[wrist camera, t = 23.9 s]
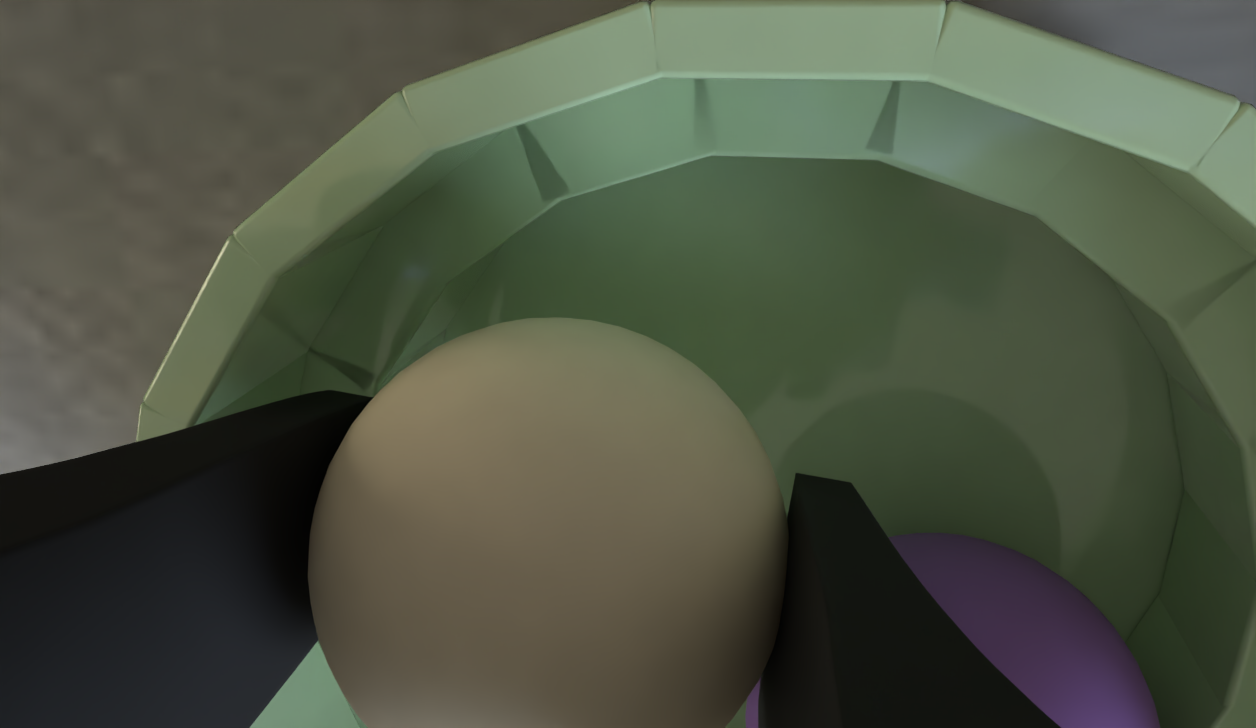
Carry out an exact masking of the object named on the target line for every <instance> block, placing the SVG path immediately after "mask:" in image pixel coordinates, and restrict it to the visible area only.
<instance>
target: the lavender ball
mask: <svg viewBox="0 0 1256 728" xmlns="http://www.w3.org/2000/svg"><path fill="white" fill-rule="evenodd" d="M888 538H889V539H890V541H891V542H892V544H893V545H894V547H895V548H896V549H897V551H898V552H899V554H900V555H901V557H902V558H903V559H904V561H905V562H906V563H907V565H908V566H909V567H910V569H911V570H912V571H913V573H914V574H915V575H916V577H917V578H918V579H919V581H920V582H921V583H922V585H923V586H924V587H925V588H926V590H927V591H928V592H929V593H930V594H931V596H932V597H933V598H934V599H935V601H936V602H937V603H938V604H939V605H940V607H941V608H942V609H943V610H944V611H945V612H946V613H947V615H948V616H949V617H950V618H951V619H952V620H953V621H954V623H955V624H956V625H957V626H958V627H959V628H960V629H961V631H962V632H963V633H964V634H965V635H966V636H967V637H968V639H969V640H970V641H971V642H972V643H973V644H974V645H975V646H976V647H977V648H978V649H979V650H980V651H981V652H982V653H983V654H984V656H985V657H986V658H987V659H988V660H989V661H990V662H991V663H992V664H993V665H994V666H995V667H996V668H997V669H998V670H999V671H1000V672H1002V673H1003V674H1004V675H1005V676H1006V677H1007V678H1008V679H1009V680H1010V681H1011V682H1012V683H1013V684H1014V685H1015V686H1016V687H1017V688H1018V689H1019V690H1020V691H1021V692H1023V693H1024V694H1025V695H1026V696H1027V697H1028V698H1029V699H1030V700H1031V701H1032V702H1033V703H1034V704H1035V705H1036V706H1037V707H1038V708H1039V709H1040V710H1042V711H1043V712H1044V713H1045V714H1046V715H1047V716H1048V717H1050V718H1051V719H1052V720H1053V721H1054V722H1055V723H1056V724H1058V725H1059V726H1060V727H1061V728H1160V724H1159V719H1158V715H1157V711H1156V707H1155V703H1154V700H1153V698H1152V695H1151V693H1150V690H1149V688H1148V686H1147V683H1146V681H1145V678H1144V676H1143V674H1142V672H1141V670H1140V667H1139V665H1138V663H1137V661H1136V659H1135V658H1134V656H1133V655H1132V653H1131V651H1130V650H1129V648H1128V647H1127V645H1126V644H1125V642H1124V641H1123V639H1122V638H1121V636H1120V635H1119V633H1118V632H1117V630H1116V629H1115V627H1114V626H1113V625H1112V624H1111V623H1110V621H1109V620H1108V619H1107V618H1106V617H1105V616H1104V615H1103V613H1102V612H1101V611H1100V610H1099V609H1098V608H1097V607H1096V606H1095V605H1094V604H1093V603H1092V602H1091V601H1090V600H1089V599H1088V598H1087V597H1086V596H1085V595H1084V594H1083V593H1082V592H1080V591H1079V590H1078V589H1077V588H1076V587H1075V586H1073V585H1072V584H1071V583H1070V582H1069V581H1067V580H1066V579H1064V578H1063V577H1061V576H1060V575H1058V574H1057V573H1055V572H1054V571H1052V570H1051V569H1049V568H1047V567H1046V566H1044V565H1043V564H1041V563H1040V562H1038V561H1037V560H1035V559H1033V558H1030V557H1028V556H1026V555H1024V554H1022V553H1020V552H1018V551H1016V550H1013V549H1010V548H1007V547H1005V546H1002V545H999V544H996V543H993V542H990V541H987V540H984V539H979V538H975V537H970V536H965V535H959V534H949V533H912V534H904V535H896V536H892V537H888ZM760 680H761V677H760V679H759V681H758V683H757V684H756V686H755V687H754V689H753V690H752V691H751V693H750V694H749V696H748V697H747V705H746V714H745V720H746V728H758V698H759V689H760Z"/></svg>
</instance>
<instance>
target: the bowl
mask: <svg viewBox="0 0 1256 728" xmlns="http://www.w3.org/2000/svg"><path fill="white" fill-rule="evenodd" d="M550 317H561V318H573V319H584V320H593V321H597V322H602V323H606V324H611V325H615V326H620V327H622V328H625V329H628V330H631V331H634V332H636V333H639V334H642V335H645V336H647V337H649V338H651V339H653V340H655V341H657V342H659V343H661V344H663V345H665V346H667V347H669V348H671V349H672V350H674V351H675V352H677V353H678V354H680V355H681V356H683V357H684V358H686V359H687V360H689V361H690V362H692V363H693V364H695V365H696V366H697V367H698V368H700V369H701V370H702V371H703V372H704V373H705V374H706V375H708V376H709V377H710V378H711V379H712V380H713V381H715V382H716V383H717V384H718V386H719V387H720V388H721V389H722V390H723V391H724V392H725V393H726V394H727V396H728V397H729V398H730V399H731V400H732V401H733V402H734V403H735V404H736V406H737V407H738V408H739V409H740V410H741V412H742V413H743V415H744V416H745V417H746V419H747V420H748V422H749V423H750V425H751V426H752V428H753V429H754V430H755V432H756V434H757V436H758V438H759V439H760V441H761V443H762V445H763V447H764V449H765V451H766V453H767V455H768V457H769V460H770V462H771V465H772V468H773V471H774V473H775V476H776V479H777V482H778V485H779V488H780V491H781V494H782V497H783V501H784V507H785V512H786V517H787V516H788V511H789V505H790V500H791V495H792V490H793V485H794V479H795V474H796V473H801V474H806V475H812V476H817V477H823V478H829V479H834V480H840V481H846V482H851V483H852V484H853V486H854V487H855V489H856V490H857V492H858V493H859V494H860V496H861V497H862V499H863V500H864V502H865V503H866V505H867V506H868V508H869V509H870V511H871V512H872V514H873V516H874V517H875V519H876V520H877V522H878V523H879V525H880V526H881V528H882V529H883V531H884V532H885V533H886V535H887V536H888V537H892V536H896V535H904V534H912V533H949V534H959V535H965V536H970V537H975V538H979V539H984V540H987V541H990V542H993V543H996V544H999V545H1002V546H1005V547H1007V548H1010V549H1013V550H1016V551H1018V552H1020V553H1022V554H1024V555H1026V556H1028V557H1030V558H1033V559H1035V560H1037V561H1038V562H1040V563H1041V564H1043V565H1044V566H1046V567H1047V568H1049V569H1051V570H1052V571H1054V572H1055V573H1057V574H1058V575H1060V576H1061V577H1063V578H1064V579H1066V580H1067V581H1069V582H1070V583H1071V584H1072V585H1073V586H1075V587H1076V588H1077V589H1078V590H1079V591H1080V592H1082V593H1083V594H1084V595H1085V596H1086V597H1087V598H1088V599H1089V600H1090V601H1091V602H1092V603H1093V604H1094V605H1095V606H1096V607H1097V608H1098V609H1099V610H1100V611H1101V612H1102V613H1103V615H1104V616H1105V617H1106V618H1107V619H1108V620H1109V621H1110V623H1111V624H1112V625H1113V626H1114V627H1115V629H1116V630H1117V632H1118V633H1119V635H1120V636H1121V638H1122V639H1123V641H1124V642H1125V644H1126V645H1127V647H1128V648H1129V650H1130V651H1131V653H1132V655H1133V656H1134V658H1135V659H1136V661H1137V663H1138V665H1139V667H1140V670H1141V672H1142V674H1143V676H1144V678H1145V681H1146V683H1147V686H1148V688H1149V690H1150V693H1151V695H1152V698H1153V700H1154V703H1155V707H1156V711H1157V715H1158V719H1159V724H1160V728H1256V108H1255V107H1254V106H1253V105H1252V104H1248V103H1244V102H1240V101H1239V100H1238V99H1237V98H1236V97H1235V96H1234V95H1232V94H1229V93H1226V92H1223V91H1220V90H1217V89H1214V88H1211V87H1208V86H1205V85H1202V84H1200V83H1197V82H1194V81H1191V80H1188V79H1185V78H1182V77H1179V76H1176V75H1173V74H1171V73H1168V72H1165V71H1162V70H1159V69H1156V68H1153V67H1150V66H1147V65H1144V64H1141V63H1139V62H1136V61H1133V60H1130V59H1127V58H1124V57H1121V56H1118V55H1115V54H1112V53H1109V52H1107V51H1104V50H1101V49H1098V48H1095V47H1092V46H1089V45H1086V44H1083V43H1080V42H1077V41H1075V40H1072V39H1069V38H1066V37H1063V36H1060V35H1057V34H1054V33H1051V32H1048V31H1045V30H1043V29H1040V28H1037V27H1034V26H1031V25H1028V24H1025V23H1022V22H1019V21H1016V20H1013V19H1011V18H1008V17H1005V16H1002V15H999V14H996V13H993V12H990V11H987V10H984V9H982V8H979V7H976V6H973V5H970V4H967V3H964V2H961V1H945V0H654V1H640V2H637V3H635V4H632V5H629V6H626V7H623V8H621V9H618V10H615V11H612V12H609V13H607V14H604V15H601V16H598V17H595V18H593V19H590V20H587V21H584V22H581V23H579V24H576V25H573V26H570V27H567V28H565V29H562V30H559V31H556V32H553V33H551V34H548V35H545V36H542V37H539V38H537V39H534V40H531V41H528V42H526V43H523V44H520V45H517V46H514V47H512V48H509V49H506V50H503V51H500V52H498V53H495V54H492V55H489V56H486V57H484V58H481V59H478V60H475V61H472V62H470V63H467V64H464V65H461V66H458V67H456V68H453V69H450V70H447V71H444V72H442V73H439V74H436V75H433V76H430V77H428V78H425V79H422V80H419V81H416V82H414V83H411V84H408V85H406V86H405V87H404V88H403V89H402V91H398V92H395V93H393V94H392V95H391V96H390V97H389V98H387V99H386V100H385V101H384V102H383V103H381V104H380V105H379V106H378V107H377V108H376V109H374V110H373V111H372V112H371V113H370V114H369V115H367V116H366V117H365V118H364V119H363V120H362V121H360V122H359V123H358V124H357V125H356V126H354V127H353V128H352V129H351V130H350V131H349V132H347V133H346V134H345V135H344V136H343V137H342V138H340V139H339V140H338V141H337V142H336V143H335V144H333V145H332V146H331V147H330V148H329V149H327V150H326V151H325V152H324V153H323V154H322V155H320V156H319V157H318V158H317V159H316V160H315V161H313V162H312V163H311V164H310V165H309V166H307V167H306V168H305V169H304V170H303V171H302V172H300V173H299V174H298V175H297V176H296V177H295V178H293V179H292V180H291V181H290V182H289V183H288V184H286V185H285V186H284V187H283V188H282V189H280V190H279V191H278V192H277V193H276V194H275V195H273V196H272V197H271V198H270V199H269V200H268V201H266V202H265V203H264V204H263V205H262V206H260V207H259V208H258V209H257V210H256V211H255V212H253V213H252V214H251V215H250V216H249V217H248V218H246V219H245V220H244V221H243V222H242V223H241V224H239V225H238V226H237V227H236V228H235V230H234V232H233V234H232V235H231V236H229V237H228V238H227V240H226V242H225V244H224V245H223V247H222V249H221V251H220V253H219V255H218V257H217V259H216V261H215V263H214V264H213V266H212V268H211V270H210V272H209V274H208V276H207V278H206V280H205V282H204V284H203V285H202V287H201V289H200V291H199V293H198V295H197V297H196V299H195V301H194V303H193V304H192V306H191V308H190V310H189V312H188V314H187V316H186V318H185V320H184V322H183V323H182V325H181V327H180V329H179V331H178V333H177V335H176V337H175V339H174V341H173V343H172V344H171V346H170V348H169V350H168V352H167V354H166V356H165V358H164V360H163V362H162V363H161V365H160V367H159V369H158V371H157V373H156V375H155V377H154V379H153V381H152V382H151V384H150V386H149V388H148V390H147V392H146V394H145V396H144V398H143V403H142V404H141V405H140V408H139V417H138V427H137V436H136V442H138V441H142V440H146V439H149V438H153V437H157V436H161V435H164V434H168V433H171V432H175V431H178V430H182V429H185V428H188V427H192V426H195V425H198V424H202V423H205V422H208V421H212V420H215V419H218V418H222V417H225V416H228V415H232V414H235V413H238V412H242V411H245V410H248V409H252V408H255V407H258V406H262V405H265V404H269V403H272V402H276V401H279V400H283V399H287V398H290V397H294V396H299V395H303V394H307V393H312V392H318V391H324V390H335V391H340V392H346V393H352V394H357V395H363V396H368V397H374V396H375V395H376V394H377V393H378V392H379V391H380V390H381V389H382V388H383V387H384V386H385V385H386V384H387V383H388V382H390V381H391V380H392V379H393V378H394V377H395V376H396V375H397V374H398V373H399V372H401V371H402V370H403V369H405V368H406V367H408V366H409V365H411V364H412V363H414V362H415V361H417V360H418V359H420V358H421V357H423V356H424V355H425V354H427V353H428V352H430V351H431V350H433V349H434V348H436V347H438V346H440V345H442V344H444V343H446V342H448V341H450V340H453V339H455V338H457V337H459V336H461V335H464V334H467V333H470V332H473V331H476V330H479V329H482V328H485V327H488V326H492V325H495V324H498V323H502V322H508V321H514V320H520V319H526V318H550ZM746 705H747V699H746V700H745V702H744V703H743V705H742V706H741V708H740V709H739V710H738V712H737V713H736V715H735V716H734V718H733V719H732V720H731V721H730V722H729V723H728V724H727V725H726V727H725V728H746V720H745V714H746ZM250 728H368V727H367V726H366V725H365V724H364V723H363V721H362V720H361V719H360V718H359V717H358V715H357V714H356V713H355V711H354V710H353V708H352V707H351V705H350V704H349V702H348V701H347V700H346V698H345V696H344V695H343V693H342V691H341V689H340V687H339V685H338V683H337V681H336V680H335V678H334V676H333V674H332V672H331V670H330V667H329V665H328V663H327V661H326V658H325V656H324V653H323V650H322V648H321V645H320V643H319V640H318V641H317V643H316V644H315V645H314V647H313V648H312V649H311V650H310V652H309V653H308V654H307V656H306V657H305V658H304V659H303V661H302V662H301V663H300V665H299V666H298V667H297V668H296V670H295V671H294V672H293V673H292V675H291V676H290V677H289V679H288V680H287V681H286V682H285V684H284V685H283V686H282V687H281V689H280V690H279V691H278V692H277V694H276V695H275V696H274V698H273V699H272V700H271V701H270V703H269V704H268V705H267V706H266V708H265V709H264V710H263V711H262V713H261V714H260V715H259V716H258V718H257V719H256V720H255V722H254V723H253V724H252V725H251V727H250Z"/></svg>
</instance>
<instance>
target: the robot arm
mask: <svg viewBox="0 0 1256 728" xmlns="http://www.w3.org/2000/svg"><path fill="white" fill-rule="evenodd" d="M373 398H374V397H368V396H363V395H357V394H352V393H346V392H340V391H335V390H324V391H318V392H312V393H307V394H303V395H299V396H294V397H290V398H287V399H283V400H279V401H276V402H272V403H269V404H265V405H262V406H258V407H255V408H252V409H248V410H245V411H242V412H238V413H235V414H232V415H228V416H225V417H222V418H218V419H215V420H212V421H208V422H205V423H202V424H198V425H195V426H192V427H188V428H185V429H182V430H178V431H175V432H171V433H168V434H164V435H161V436H157V437H153V438H149V439H146V440H142V441H138V442H135V443H131V444H127V445H123V446H120V447H116V448H112V449H108V450H105V451H101V452H97V453H94V454H90V455H86V456H82V457H79V458H75V459H70V460H66V461H62V462H58V463H53V464H49V465H44V466H40V467H35V468H31V469H26V470H21V471H16V472H11V473H6V474H1V475H0V728H250V727H251V725H252V724H253V723H254V722H255V720H256V719H257V718H258V716H259V715H260V714H261V713H262V711H263V710H264V709H265V708H266V706H267V705H268V704H269V703H270V701H271V700H272V699H273V698H274V696H275V695H276V694H277V692H278V691H279V690H280V689H281V687H282V686H283V685H284V684H285V682H286V681H287V680H288V679H289V677H290V676H291V675H292V673H293V672H294V671H295V670H296V668H297V667H298V666H299V665H300V663H301V662H302V661H303V659H304V658H305V657H306V656H307V654H308V653H309V652H310V650H311V649H312V648H313V647H314V645H315V644H316V643H317V641H318V640H319V639H318V635H317V631H316V627H315V623H314V619H313V613H312V608H311V602H310V593H309V584H308V557H309V540H310V530H311V525H312V520H313V514H314V509H315V505H316V502H317V499H318V495H319V492H320V489H321V486H322V483H323V480H324V478H325V475H326V472H327V469H328V466H329V464H330V462H331V461H332V459H333V457H334V455H335V453H336V452H337V450H338V448H339V446H340V444H341V443H342V441H343V439H344V437H345V435H346V433H347V432H348V430H349V428H350V426H351V425H352V423H353V422H354V421H355V420H356V418H357V417H358V416H359V414H360V413H361V412H362V411H363V409H364V408H365V407H366V406H367V404H368V403H369V402H370V401H371V400H372V399H373ZM787 522H788V532H789V541H788V554H787V571H786V581H785V591H784V598H783V605H782V611H781V618H780V624H779V629H778V632H777V636H776V640H775V644H774V648H773V650H772V653H771V655H770V657H769V660H768V662H767V664H766V666H765V668H764V670H763V672H762V675H761V680H760V689H759V698H758V728H1061V727H1060V726H1059V725H1058V724H1056V723H1055V722H1054V721H1053V720H1052V719H1051V718H1050V717H1048V716H1047V715H1046V714H1045V713H1044V712H1043V711H1042V710H1040V709H1039V708H1038V707H1037V706H1036V705H1035V704H1034V703H1033V702H1032V701H1031V700H1030V699H1029V698H1028V697H1027V696H1026V695H1025V694H1024V693H1023V692H1021V691H1020V690H1019V689H1018V688H1017V687H1016V686H1015V685H1014V684H1013V683H1012V682H1011V681H1010V680H1009V679H1008V678H1007V677H1006V676H1005V675H1004V674H1003V673H1002V672H1000V671H999V670H998V669H997V668H996V667H995V666H994V665H993V664H992V663H991V662H990V661H989V660H988V659H987V658H986V657H985V656H984V654H983V653H982V652H981V651H980V650H979V649H978V648H977V647H976V646H975V645H974V644H973V643H972V642H971V641H970V640H969V639H968V637H967V636H966V635H965V634H964V633H963V632H962V631H961V629H960V628H959V627H958V626H957V625H956V624H955V623H954V621H953V620H952V619H951V618H950V617H949V616H948V615H947V613H946V612H945V611H944V610H943V609H942V608H941V607H940V605H939V604H938V603H937V602H936V601H935V599H934V598H933V597H932V596H931V594H930V593H929V592H928V591H927V590H926V588H925V587H924V586H923V585H922V583H921V582H920V581H919V579H918V578H917V577H916V575H915V574H914V573H913V571H912V570H911V569H910V567H909V566H908V565H907V563H906V562H905V561H904V559H903V558H902V557H901V555H900V554H899V552H898V551H897V549H896V548H895V547H894V545H893V544H892V542H891V541H890V539H889V538H888V536H887V535H886V533H885V532H884V531H883V529H882V528H881V526H880V525H879V523H878V522H877V520H876V519H875V517H874V516H873V514H872V512H871V511H870V509H869V508H868V506H867V505H866V503H865V502H864V500H863V499H862V497H861V496H860V494H859V493H858V492H857V490H856V489H855V487H854V486H853V484H852V483H851V482H846V481H840V480H834V479H829V478H823V477H817V476H812V475H806V474H801V473H796V474H795V479H794V485H793V490H792V495H791V500H790V505H789V511H788V516H787Z"/></svg>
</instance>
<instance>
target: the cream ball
mask: <svg viewBox="0 0 1256 728" xmlns="http://www.w3.org/2000/svg"><path fill="white" fill-rule="evenodd" d="M788 541H789V532H788V522H787V517H786V512H785V507H784V501H783V497H782V494H781V491H780V488H779V485H778V482H777V479H776V476H775V473H774V471H773V468H772V465H771V462H770V460H769V457H768V455H767V453H766V451H765V449H764V447H763V445H762V443H761V441H760V439H759V438H758V436H757V434H756V432H755V430H754V429H753V428H752V426H751V425H750V423H749V422H748V420H747V419H746V417H745V416H744V415H743V413H742V412H741V410H740V409H739V408H738V407H737V406H736V404H735V403H734V402H733V401H732V400H731V399H730V398H729V397H728V396H727V394H726V393H725V392H724V391H723V390H722V389H721V388H720V387H719V386H718V384H717V383H716V382H715V381H713V380H712V379H711V378H710V377H709V376H708V375H706V374H705V373H704V372H703V371H702V370H701V369H700V368H698V367H697V366H696V365H695V364H693V363H692V362H690V361H689V360H687V359H686V358H684V357H683V356H681V355H680V354H678V353H677V352H675V351H674V350H672V349H671V348H669V347H667V346H665V345H663V344H661V343H659V342H657V341H655V340H653V339H651V338H649V337H647V336H645V335H642V334H639V333H636V332H634V331H631V330H628V329H625V328H622V327H620V326H615V325H611V324H606V323H602V322H597V321H593V320H584V319H573V318H561V317H550V318H526V319H520V320H514V321H508V322H502V323H498V324H495V325H492V326H488V327H485V328H482V329H479V330H476V331H473V332H470V333H467V334H464V335H461V336H459V337H457V338H455V339H453V340H450V341H448V342H446V343H444V344H442V345H440V346H438V347H436V348H434V349H433V350H431V351H430V352H428V353H427V354H425V355H424V356H423V357H421V358H420V359H418V360H417V361H415V362H414V363H412V364H411V365H409V366H408V367H406V368H405V369H403V370H402V371H401V372H399V373H398V374H397V375H396V376H395V377H394V378H393V379H392V380H391V381H390V382H388V383H387V384H386V385H385V386H384V387H383V388H382V389H381V390H380V391H379V392H378V393H377V394H376V395H375V396H374V398H373V399H372V400H371V401H370V402H369V403H368V404H367V406H366V407H365V408H364V409H363V411H362V412H361V413H360V414H359V416H358V417H357V418H356V420H355V421H354V422H353V423H352V425H351V426H350V428H349V430H348V432H347V433H346V435H345V437H344V439H343V441H342V443H341V444H340V446H339V448H338V450H337V452H336V453H335V455H334V457H333V459H332V461H331V462H330V464H329V466H328V469H327V472H326V475H325V478H324V480H323V483H322V486H321V489H320V492H319V495H318V499H317V502H316V505H315V509H314V514H313V520H312V525H311V530H310V540H309V557H308V584H309V593H310V602H311V608H312V613H313V619H314V623H315V627H316V631H317V635H318V639H319V643H320V645H321V648H322V650H323V653H324V656H325V658H326V661H327V663H328V665H329V667H330V670H331V672H332V674H333V676H334V678H335V680H336V681H337V683H338V685H339V687H340V689H341V691H342V693H343V695H344V696H345V698H346V700H347V701H348V702H349V704H350V705H351V707H352V708H353V710H354V711H355V713H356V714H357V715H358V717H359V718H360V719H361V720H362V721H363V723H364V724H365V725H366V726H367V727H368V728H725V727H726V725H727V724H728V723H729V722H730V721H731V720H732V719H733V718H734V716H735V715H736V713H737V712H738V710H739V709H740V708H741V706H742V705H743V703H744V702H745V700H746V699H747V697H748V696H749V694H750V693H751V691H752V690H753V689H754V687H755V686H756V684H757V683H758V681H759V679H760V677H761V675H762V672H763V670H764V668H765V666H766V664H767V662H768V660H769V657H770V655H771V653H772V650H773V648H774V644H775V640H776V636H777V632H778V629H779V624H780V618H781V611H782V605H783V598H784V591H785V581H786V571H787V554H788Z"/></svg>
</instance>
